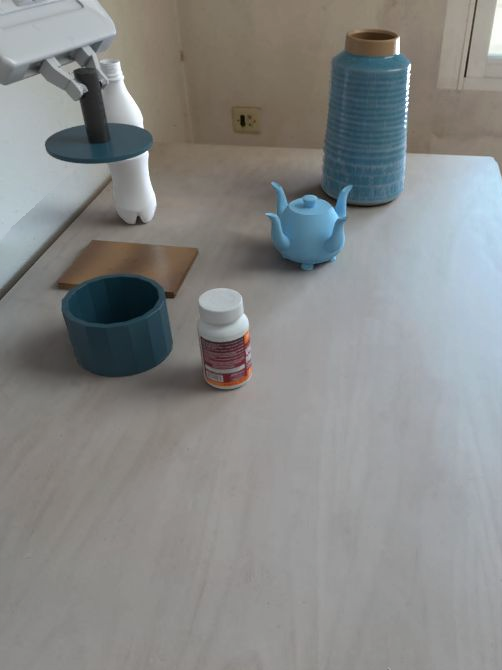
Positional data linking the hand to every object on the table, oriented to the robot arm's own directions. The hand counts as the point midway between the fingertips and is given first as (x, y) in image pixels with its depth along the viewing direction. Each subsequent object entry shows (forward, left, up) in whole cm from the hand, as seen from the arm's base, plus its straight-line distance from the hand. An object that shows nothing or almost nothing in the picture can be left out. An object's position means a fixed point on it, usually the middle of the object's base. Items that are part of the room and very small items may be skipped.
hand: (93, 92), depth 77 cm
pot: (+4, -15, -27) cm, 31 cm away
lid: (-1, 0, -6) cm, 6 cm away
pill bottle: (+19, -19, -27) cm, 38 cm away
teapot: (+25, +14, -27) cm, 40 cm away
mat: (-2, +5, -27) cm, 28 cm away
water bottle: (-7, +23, -27) cm, 36 cm away
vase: (+32, +42, -27) cm, 59 cm away
